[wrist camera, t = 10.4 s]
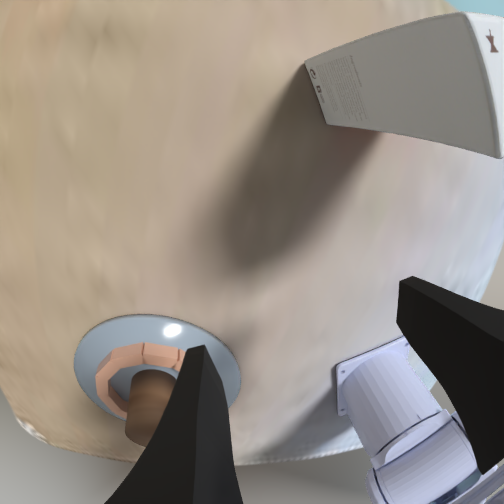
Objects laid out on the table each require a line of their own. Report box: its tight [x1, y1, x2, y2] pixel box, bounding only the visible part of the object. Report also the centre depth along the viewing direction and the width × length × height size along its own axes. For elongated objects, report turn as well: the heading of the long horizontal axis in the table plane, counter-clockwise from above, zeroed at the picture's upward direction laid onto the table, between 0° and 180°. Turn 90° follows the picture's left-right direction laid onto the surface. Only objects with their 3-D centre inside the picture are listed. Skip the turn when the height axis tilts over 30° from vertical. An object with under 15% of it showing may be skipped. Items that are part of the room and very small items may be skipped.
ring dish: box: [74, 314, 241, 421], centre depth 21 cm, size 14×14×2 cm
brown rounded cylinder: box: [125, 369, 177, 447], centre depth 19 cm, size 4×4×5 cm
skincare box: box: [304, 12, 504, 159], centre depth 10 cm, size 6×4×12 cm
